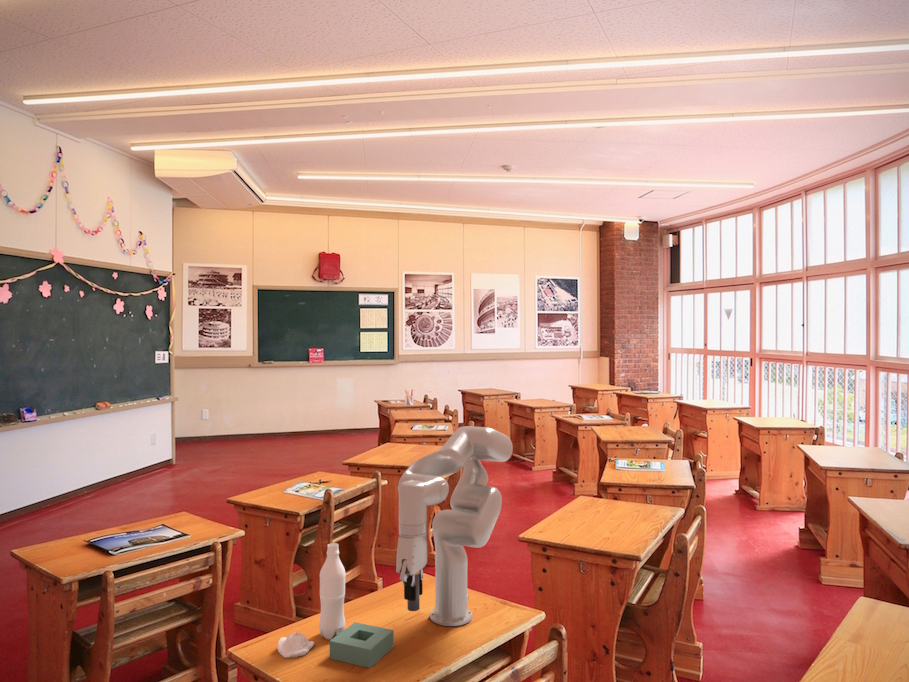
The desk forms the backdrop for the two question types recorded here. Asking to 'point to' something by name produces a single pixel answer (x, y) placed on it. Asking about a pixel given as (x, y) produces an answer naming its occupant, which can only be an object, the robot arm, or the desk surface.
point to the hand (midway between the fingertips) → (413, 596)
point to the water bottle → (332, 594)
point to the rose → (294, 645)
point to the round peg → (415, 604)
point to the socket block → (361, 644)
